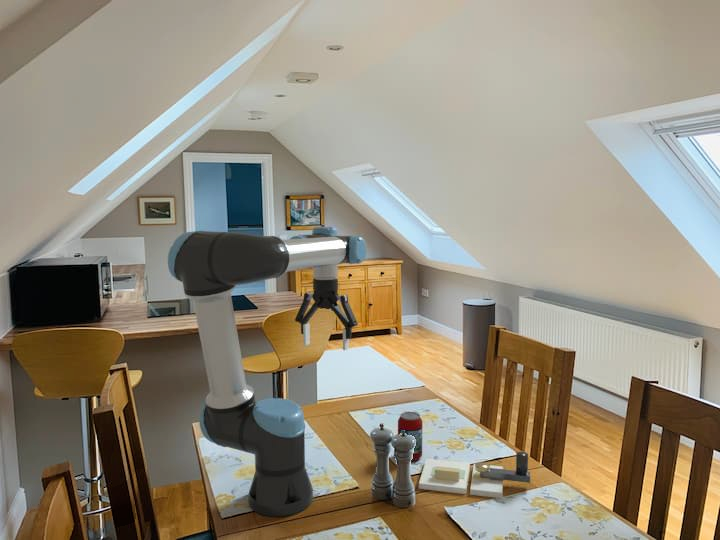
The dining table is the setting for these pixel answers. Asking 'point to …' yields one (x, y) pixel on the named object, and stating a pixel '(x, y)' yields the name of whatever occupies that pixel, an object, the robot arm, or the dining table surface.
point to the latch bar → (502, 474)
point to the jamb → (486, 485)
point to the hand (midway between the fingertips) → (326, 347)
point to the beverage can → (412, 430)
